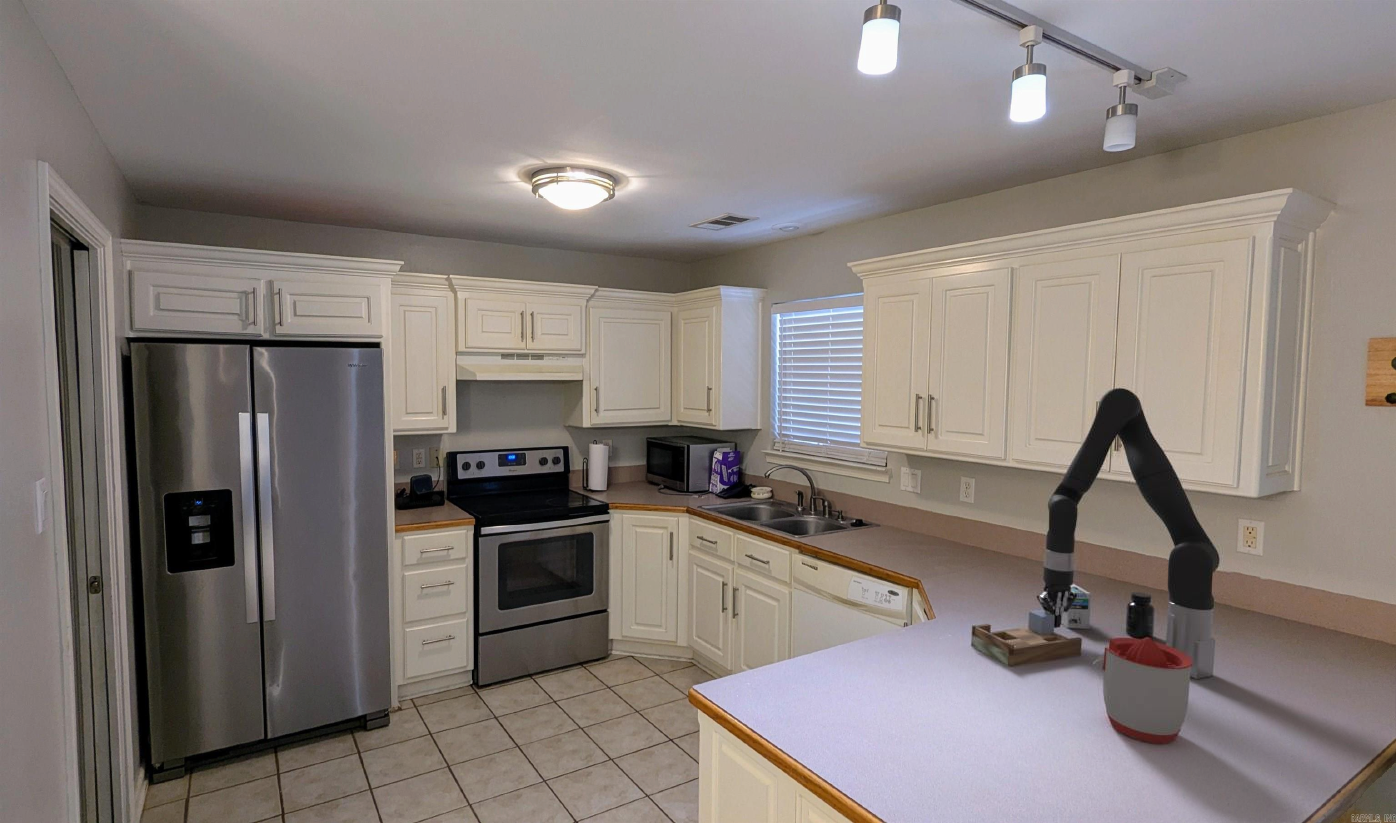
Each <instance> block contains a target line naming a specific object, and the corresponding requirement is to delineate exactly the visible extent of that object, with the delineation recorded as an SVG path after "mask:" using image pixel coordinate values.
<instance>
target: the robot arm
mask: <svg viewBox="0 0 1396 823" xmlns="http://www.w3.org/2000/svg"><path fill="white" fill-rule="evenodd" d="M1090 426H1091V427H1090V429H1089V431H1088V433H1087V435H1086V437H1085V439H1084V440H1083V443H1082V444H1081V446H1080V447H1079V449H1078V451H1077V452H1076V454H1075V456H1074V458H1073V459H1072V461H1071V463H1070V465H1069V466H1068V468H1067V470H1066V472H1065V473H1064V476H1063V478H1062V480H1061V482H1060V483H1059V484H1058V486H1057V487H1056V488H1055V490H1054V492H1053V493H1052V495H1051V496H1050V498H1049V500H1048V501H1047V509H1048V530H1047V532H1046V537H1045V538H1046V539H1045V540H1046V543H1045V552H1044V557H1043V570H1042V571H1043V572H1042V573H1043V574H1042V575H1043V576H1042V580H1043V581H1044V587H1043V592H1042V593H1041V594H1039V593H1038V594H1037V595H1036V599H1037V601H1038V602H1039V604H1040V606H1041V607H1042V610H1043V611H1045V612H1048V613H1050V614H1053V615H1055V620H1054V629H1058V628H1061V626H1062V624H1061V618H1062V614H1063V613H1064V612H1068V610H1069V609H1070V607H1071V605H1072V604H1073V602H1074V601H1075V599H1076V597H1077V594H1075V593H1073V592H1072V591H1071V587H1070V586H1071V585H1073V583H1074V576H1075V543H1076V542H1075V541H1076V538H1075V534H1076V533H1075V532H1076V528H1077V521H1078V514H1079V513H1078V512H1079V511H1078V506H1079V503H1080V502H1081V500H1082V498H1083V497H1084V494H1086V493H1087V492H1088V491H1089V490H1091V488H1092V485H1094V483H1095V480H1096V478H1097V477H1098V475H1099V473H1100V471H1101V469H1102V467H1103V465H1104V464H1105V460H1106V458H1107V455H1108V453H1109V452H1110V449H1111V446H1112V444H1113V443H1114V441H1115V439H1116V438H1117V436H1118V437H1119V439H1120V441H1121V443H1122V446H1123V449H1124V452H1125V456H1126V459H1127V462H1128V466H1129V469H1130V472H1131V474H1132V477H1133V479H1134V481H1135V484H1136V486H1137V488H1138V490H1139V492H1140V494H1141V496H1142V497H1143V499H1144V500H1145V502H1146V503H1147V505H1148V506H1149V507H1150V508H1151V510H1152V511H1153V512H1154V513H1155V514H1156V515H1157V517H1158V518H1159V519H1160V521H1162V523H1163V524H1164V525H1165V528H1166V529H1167V531H1168V533H1169V535H1170V538H1171V541H1172V543H1173V545H1174V547H1173V549H1171V551H1170V553H1169V557H1168V563H1167V564H1168V565H1167V592H1168V610H1167V611H1168V612H1167V623H1166V636H1165V638H1166V639H1165V645H1167V646H1170V647H1172V648H1175V649H1177V650H1179V651H1181V652H1183V653H1185V654H1187V655H1188V656H1189V657H1190V658H1191V659H1192V662H1193V664H1192V665H1191V670H1190V678H1193V679H1194V680H1195V679H1196V680H1198V679H1199V680H1200V679H1205V678H1209V677H1213V676H1214V666H1215V664H1214V662H1215V650H1216V639H1215V637H1212V634H1213V633H1212V632H1213V621H1214V607H1215V598H1214V596H1213V576H1214V574H1213V573H1215V572H1216V570H1217V569H1218V568H1219V566H1220V555H1219V552H1218V550H1217V548H1216V546H1215V545H1214V543H1213V542H1212V540H1211V539H1210V537H1209V536H1208V534H1207V532H1206V531H1205V529H1204V528H1203V527H1202V525H1201V523H1200V521H1199V520H1198V518H1197V516H1196V514H1195V512H1194V510H1193V507H1192V504H1191V502H1190V500H1189V499H1188V496H1187V494H1186V491H1185V489H1184V488H1183V485H1182V482H1181V481H1180V479H1179V477H1178V474H1177V473H1176V470H1175V468H1174V467H1173V465H1172V463H1171V462H1170V459H1169V458H1168V457H1167V456H1168V455H1167V454H1166V453H1165V451H1164V450H1163V448H1162V447H1161V445H1160V444H1159V442H1158V441H1157V440H1156V438H1155V436H1154V434H1153V432H1152V431H1151V429H1150V425H1149V423H1148V421H1147V418H1146V416H1145V413H1144V410H1143V406H1142V404H1141V400H1140V399H1139V397H1138V395H1136V394H1135V393H1134V392H1133V391H1131V390H1130V389H1128V388H1127V389H1126V388H1122V387H1117V388H1111V389H1110V390H1108V391H1107V392H1105V393H1104V394H1103V395H1102V396H1101V398H1100V400H1099V404H1098V408H1097V410H1096V413H1095V417H1094V420H1093V422H1092V424H1091V425H1090ZM1066 603H1067V605H1066ZM1053 606H1054V608H1053Z"/></svg>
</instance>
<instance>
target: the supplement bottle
mask: <svg viewBox="0 0 1396 823" xmlns="http://www.w3.org/2000/svg"><path fill="white" fill-rule="evenodd" d="M1130 600H1131V601H1128V602H1127V603H1126V618H1125V633H1126V634H1127V635H1128V636H1130V637H1131V638H1136V639H1144V638H1146V637H1148V638H1150V639H1151V640H1152V639H1153V638H1154V632H1155V631H1154V630H1155V613H1156V612H1155V610H1156V609H1155V607H1154V605H1152V604H1151V603H1152V595H1151V594H1149V593H1145V592H1140V591H1134V592H1131V595H1130Z"/></svg>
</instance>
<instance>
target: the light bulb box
mask: <svg viewBox="0 0 1396 823" xmlns="http://www.w3.org/2000/svg"><path fill="white" fill-rule="evenodd" d="M1070 587H1071V591H1072V592H1073V593H1075V594H1077V597H1076V599H1075V601H1074V602H1073V604H1072V605H1071V607H1070V609H1069V610H1068V612H1064V613H1063V614H1062V618H1061V625H1063V626H1064V627H1065V628H1067V629H1090V618H1091V601H1092V600H1091V599H1092V593H1091V592H1089V591H1087V590H1086V589H1084V588H1082V587H1080V586H1078V585H1076V584H1075V583H1074V582H1073V585H1071V586H1070ZM1066 605H1067V603H1066ZM1053 608H1054V606H1053Z"/></svg>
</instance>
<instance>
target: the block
mask: <svg viewBox="0 0 1396 823" xmlns="http://www.w3.org/2000/svg"><path fill="white" fill-rule="evenodd" d="M1028 612H1029V613H1028V626H1027V627H1028V629H1029V630H1032V631H1034V632H1036V633H1038V634H1040V635H1044V634H1051V633H1054V632H1055V628H1054V620H1055V615H1053V614H1050V613H1049V612H1047V611H1045V610H1044V609H1038V610H1030V611H1028Z"/></svg>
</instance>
